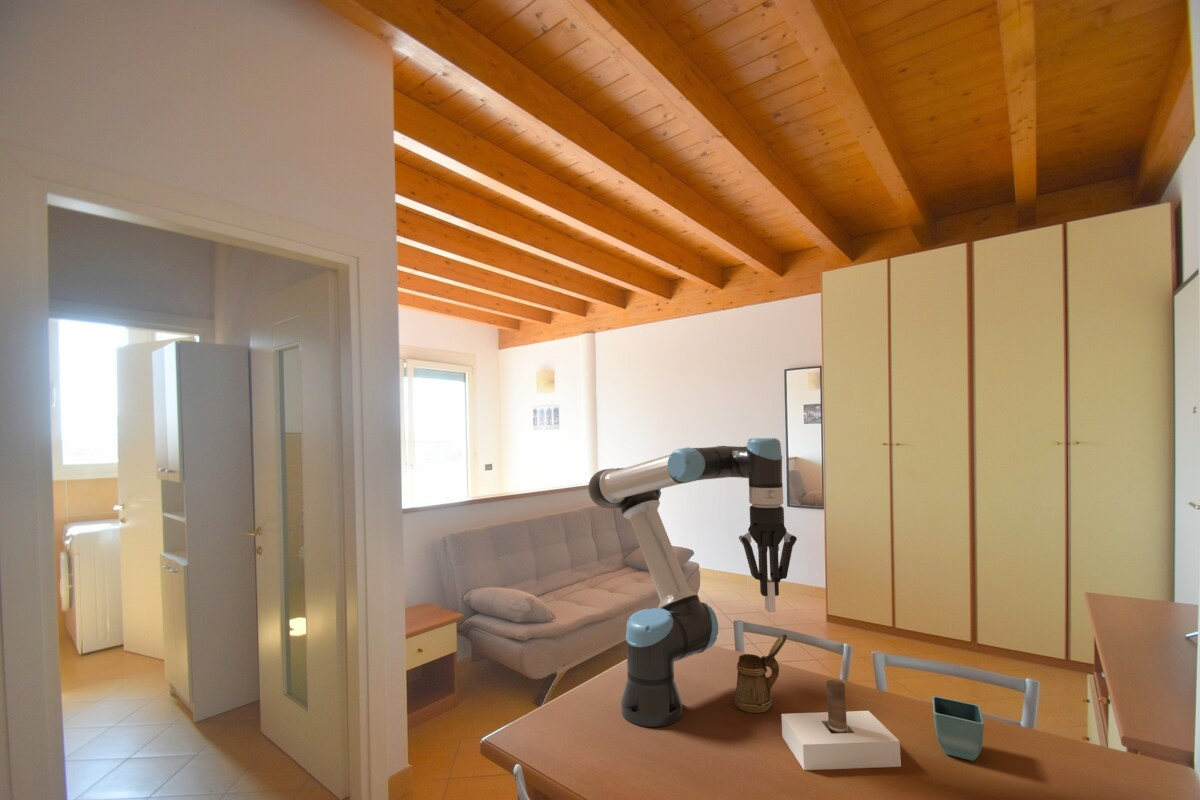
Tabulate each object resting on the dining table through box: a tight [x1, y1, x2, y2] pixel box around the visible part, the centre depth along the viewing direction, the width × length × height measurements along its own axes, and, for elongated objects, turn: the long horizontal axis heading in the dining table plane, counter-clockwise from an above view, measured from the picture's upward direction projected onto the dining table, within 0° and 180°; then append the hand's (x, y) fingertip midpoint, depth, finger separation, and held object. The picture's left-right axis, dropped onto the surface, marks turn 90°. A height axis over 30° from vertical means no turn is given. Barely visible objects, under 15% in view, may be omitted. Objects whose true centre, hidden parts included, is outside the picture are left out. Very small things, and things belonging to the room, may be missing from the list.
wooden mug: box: [733, 634, 788, 714], centre depth 134 cm, size 9×14×18 cm, turn 72°
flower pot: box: [931, 695, 985, 762], centre depth 113 cm, size 9×9×9 cm
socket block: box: [780, 710, 902, 771], centre depth 114 cm, size 12×20×5 cm, turn 92°
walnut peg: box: [826, 679, 847, 734], centre depth 114 cm, size 4×4×14 cm
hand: (770, 610), depth 121 cm, fingers closed
